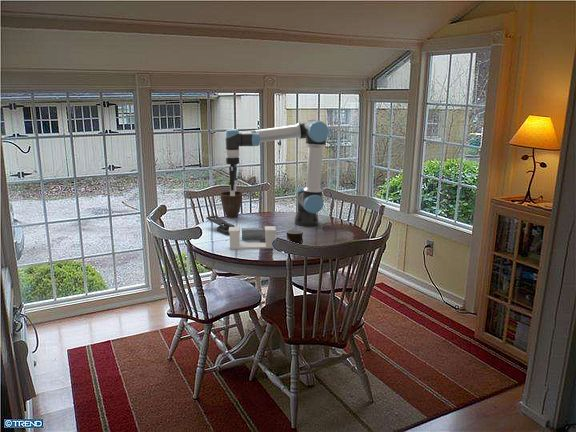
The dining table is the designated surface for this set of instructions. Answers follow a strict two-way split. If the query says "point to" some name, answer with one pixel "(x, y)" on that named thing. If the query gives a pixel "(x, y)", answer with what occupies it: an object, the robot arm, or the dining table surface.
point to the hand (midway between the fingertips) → (233, 193)
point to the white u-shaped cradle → (237, 245)
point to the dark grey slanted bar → (221, 224)
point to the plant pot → (231, 203)
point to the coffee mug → (295, 236)
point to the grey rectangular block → (252, 233)
